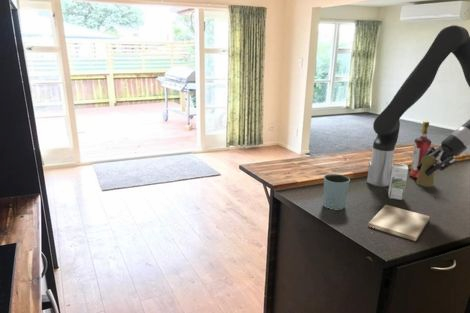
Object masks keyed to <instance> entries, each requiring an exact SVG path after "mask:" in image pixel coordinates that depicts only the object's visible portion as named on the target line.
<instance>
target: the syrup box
mask: <svg viewBox="0 0 470 313" xmlns="http://www.w3.org/2000/svg"><path fill="white" fill-rule="evenodd" d="M408 174H409V167H408V164H402V163H395V162H392V168H391V175H390V182H389V185H388V190H387V194H388V199H391V200H396V201H404V197H405V190H406V185H407V179H408Z"/></svg>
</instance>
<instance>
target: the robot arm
mask: <svg viewBox="0 0 470 313" xmlns="http://www.w3.org/2000/svg"><path fill="white" fill-rule="evenodd" d="M451 53H452V54H453V56H454V57H455V58H456V59H457V61H458V63H459V65H460V67H461V69H462V72H463V75H464V79H465V81H466V84H467V85H468V87H469V88H470V33H469V31H468V30H467V29H466V28H465V27H463V26H461V25H458V24H457V25H456V24H450V25H447V26H445V27H443V28H442V29H441V30H440V31H439V32H438V33H437V35H436V36H435V38H434V39H433V42H432V43H431V45H430V47H429V48H428V49H427V51H426V53H425V54H424V56H423V57H422V58H421V60H420V61H419V62H418V63H417V65H416V66H415V67H414V68H413V70H412V71H411V73H410V74H409V75H408V76H407V78H406V79H405V81H404V82H403V83H402V85H401V86H400V88H399V89H398V90H397V92H396V93H395V95H394V96H393V98H392V100H391V101H390V102H389V104H388V105H387V106H386V107H385V108H384V109H383V110H382V112H380V114H378V116H377V117H375V119H374V122H373V126H372V128H373V131H374V132H375V133H376V134H377V135H376V137H375V139H374V141H373V144H372V151H371V152H372V153H371V159H370V163H369V164H368V171H367V179H366V183H368V184H370V185H372V186H375V187H381V188H382V187H389V184H390V178H391V172H392V165H393V161H394V160H393V159H394V153H395V148H396V145H397V142H398V138H399V132H400V127H401V126H400V125H401V122H400V121H401V120H400V119H401V117H402V116H403V115H404V114H405V112H407V111H408V110H409V109H410V108H412V107H413V106H414V105H415V104H416V103H417V102H418V101H419V100H420V99H421V98H422V97H423V96H424V95H425V93H426V92H427V91H428V90H429V88H430V87H431V86H432V83H433V82H434V80H435V78H436V76H437V73H438V72H439V68H440V67H441V65H442V64H443V63H444V61H445V60H446V59H447V58H448V57H449V55H450V54H451ZM440 144H441V145H440V146H439V147H436V148H435V147H434V146H430V149H429V150H428V151H427V152H426V153H425V155H424V156H433V157H435V158H436V161H435V163H434V164H433V166H432V165H431V166H430V167H429V168H428V169H427V170H425V171H424V173H425V174H426V175H427V176H429V175H431V174H432V173H433V172H434V173H435V171H439V170H440V172H441V171H444V170H445V169H447V168H449V167H450V166H452V165H453V164H456V163H457V160H456V158H454V157H458V156H460V155H461V154H463V152H465V151H466V150H467V149H468V148H469V147H470V119H468V120H467V121H466V122H465V123H463V124H462V125H461V126H460V127H458V128H457V129H455V130H454V131H452V133H450V134H449V135H447V137H445V138H444V139H443V140H442V141H441V143H440ZM421 166H422V163H420V164H419V165H418V166H417V169H418V170H419V171H420V169H421Z"/></svg>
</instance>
